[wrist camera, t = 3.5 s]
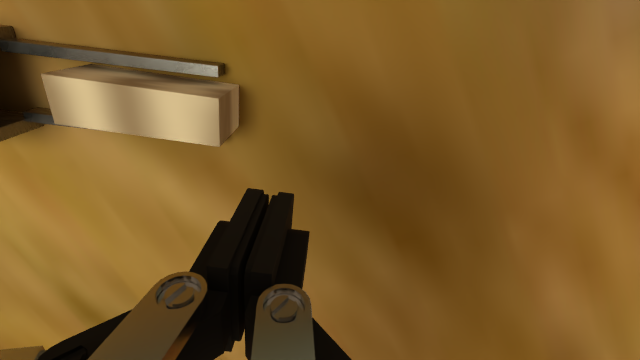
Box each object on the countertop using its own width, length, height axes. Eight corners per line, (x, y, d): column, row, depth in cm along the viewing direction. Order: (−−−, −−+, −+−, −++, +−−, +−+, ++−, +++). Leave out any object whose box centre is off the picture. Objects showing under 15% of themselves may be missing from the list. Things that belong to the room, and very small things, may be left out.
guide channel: (224, 63, 25) (217, 66, 23) (226, 139, 27) (221, 145, 26) (16, 38, 25) (-3, 39, 23) (40, 116, 28) (25, 121, 26)
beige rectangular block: (239, 84, 25) (218, 98, 21) (239, 125, 27) (219, 146, 23) (92, 63, 25) (40, 73, 21) (101, 106, 27) (54, 123, 23)
